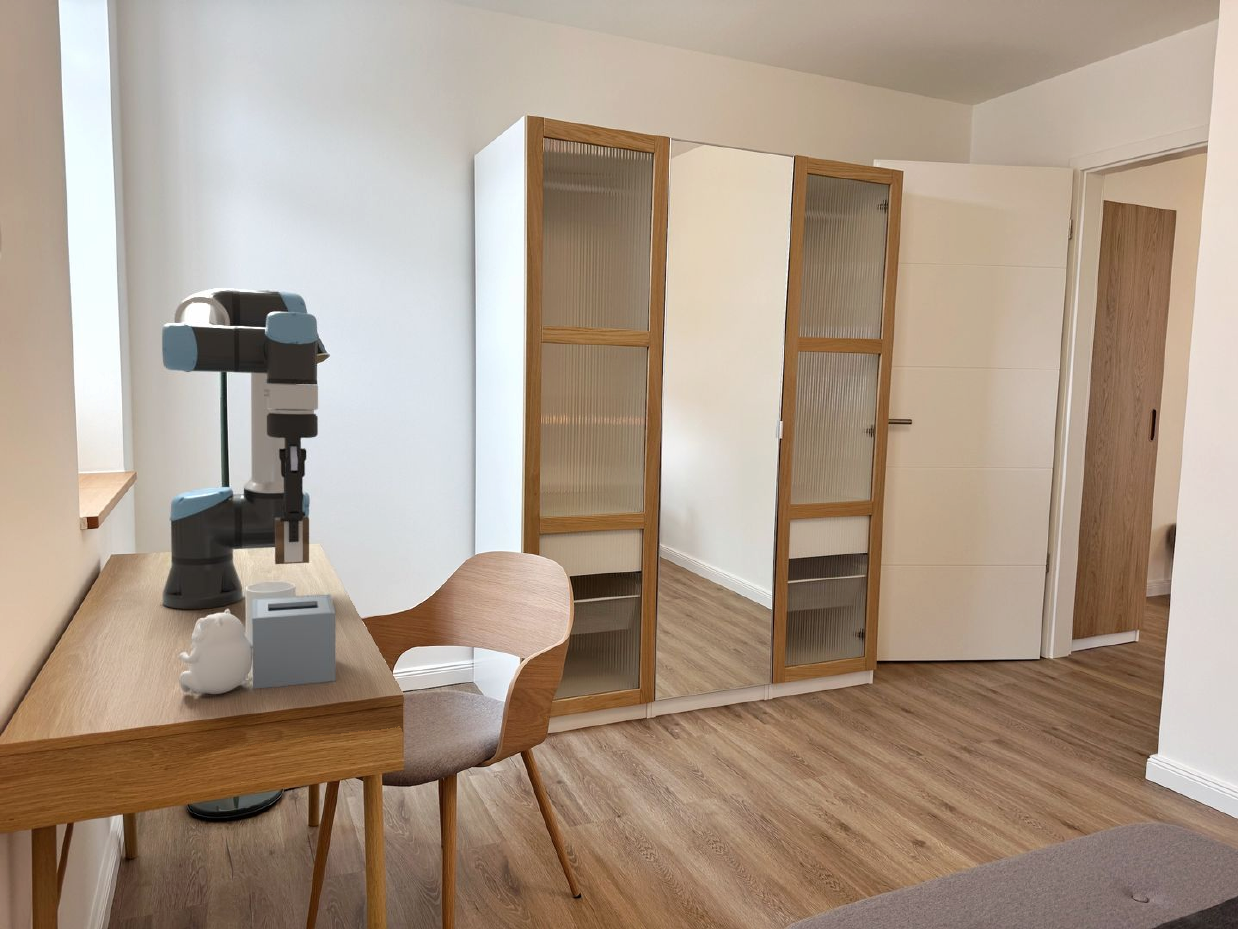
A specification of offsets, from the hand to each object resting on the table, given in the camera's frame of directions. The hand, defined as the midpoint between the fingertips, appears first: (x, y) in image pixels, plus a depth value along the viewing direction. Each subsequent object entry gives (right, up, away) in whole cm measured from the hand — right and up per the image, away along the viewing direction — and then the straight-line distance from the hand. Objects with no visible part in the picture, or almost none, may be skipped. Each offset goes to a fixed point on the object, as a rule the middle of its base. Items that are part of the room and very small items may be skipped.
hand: (293, 559), depth 139 cm
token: (0, 0, 0) cm, 0 cm away
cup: (-11, -17, +19) cm, 28 cm away
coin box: (-1, -19, +2) cm, 19 cm away
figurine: (-9, -19, -7) cm, 22 cm away
